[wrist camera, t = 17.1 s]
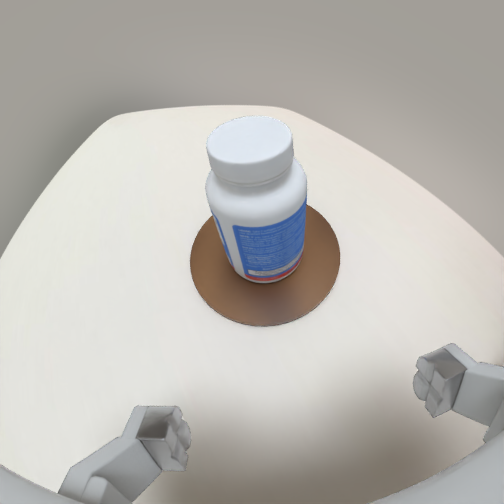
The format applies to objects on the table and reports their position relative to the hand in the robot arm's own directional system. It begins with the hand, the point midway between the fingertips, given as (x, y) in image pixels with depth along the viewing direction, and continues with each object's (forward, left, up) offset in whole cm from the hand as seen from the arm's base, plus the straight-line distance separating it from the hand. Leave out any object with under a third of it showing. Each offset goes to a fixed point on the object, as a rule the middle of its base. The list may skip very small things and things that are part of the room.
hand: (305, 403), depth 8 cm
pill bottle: (-3, -10, -8) cm, 13 cm away
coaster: (-3, -10, -8) cm, 14 cm away
